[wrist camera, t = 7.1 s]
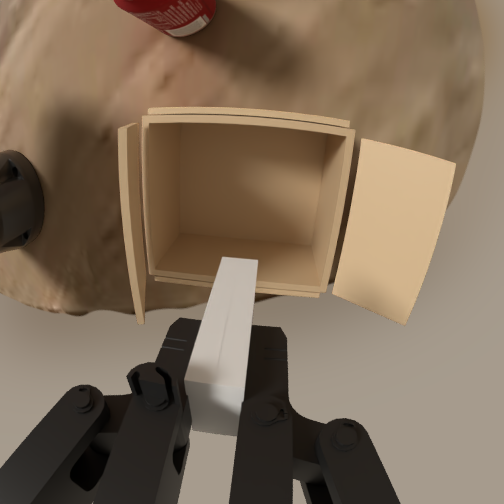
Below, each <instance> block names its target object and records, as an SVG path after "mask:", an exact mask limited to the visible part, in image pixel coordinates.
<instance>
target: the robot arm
mask: <svg viewBox="0 0 504 504" xmlns="http://www.w3.org/2000/svg"><path fill="white" fill-rule="evenodd" d="M43 218H44V201H43V194H42V190H41V186H40V183H39V180H38V177H37V175H36V173H35V171H34V169H33V167H32V165H31V164H30V163H29V161H28V160H27V159H26V158H25V157H24V156H23V155H22V154H20V153H19V152H16V151H13V150H6V151H3V152H0V253H2V252H6V251H11V250H15V249H19V248H22V247H24V246H26V245H27V244H29V243H30V242H31V241H33V240H34V239H35V238H36V237H37V236H38V234H39V232H40V230H41V227H42V224H43ZM257 267H258V260H252V259H241V258H230V257H222V260H221V263H220V266H219V269H218V272H217V275H216V278H215V281H214V285H213V288H212V291H211V294H210V297H209V300H208V303H207V306H206V310H205V313H204V316H203V319H202V320H195V319H187V318H179V319H178V320H176V321H175V322H174V323H173V324H172V325H171V326H170V328H169V330H168V332H167V335H166V338H165V339H164V342H163V344H162V348H161V349H160V351H159V354H158V357H157V359H156V361H155V363H151V362H148V363H144V364H140V365H138V366H136V367H135V368H133V369H131V371H130V372H129V373H128V375H127V376H126V377H127V379H128V382H129V385H130V388H131V391H132V393H131V394H126V395H108V396H107V395H106V396H103V394H102V392H101V391H100V390H98V389H97V388H96V387H93V386H91V385H79V386H75V387H73V388H71V389H70V390H69V391H68V392H66V394H65V395H64V396H63V397H62V398H61V399H60V400H59V401H58V402H57V403H56V405H55V406H54V407H53V408H52V409H51V410H50V412H48V414H47V415H46V416H45V417H44V418H43V419H42V420H41V422H40V423H39V424H38V425H37V426H36V427H35V428H34V429H33V430H32V432H31V433H30V434H29V435H28V437H26V439H25V440H24V441H23V442H22V443H21V444H20V446H19V447H18V448H17V449H16V450H15V452H14V453H13V454H12V455H11V456H10V457H9V459H8V460H7V461H6V462H5V464H4V465H3V466H2V467H1V468H0V504H92V503H93V504H177V503H178V498H179V493H180V489H181V484H182V479H183V475H184V470H185V465H186V460H187V456H188V451H189V447H190V442H189V433H190V429H191V424H192V430H194V431H200V432H207V433H214V434H222V435H230V436H237V442H236V451H235V459H234V467H233V475H232V483H231V492H230V499H229V504H292V503H293V502H292V501H293V500H292V499H293V479H296V480H299V481H300V483H301V486H302V489H303V492H304V496H305V499H306V502H307V504H400V502H399V499H398V497H397V495H396V493H395V491H394V488H393V486H392V484H391V482H390V479H389V477H388V475H387V473H386V471H385V469H384V466H383V464H382V462H381V460H380V458H379V456H378V454H377V452H376V449H375V447H374V445H373V443H372V441H371V439H370V437H369V435H368V433H367V431H366V430H365V429H364V427H363V426H362V425H361V424H359V423H358V422H356V421H355V420H351V419H347V418H342V419H335V420H332V421H330V422H328V423H327V424H324V423H320V422H317V421H313V420H310V419H307V418H305V417H303V416H301V415H299V414H298V413H297V412H296V411H295V410H294V409H293V408H292V406H291V404H290V402H289V397H288V362H287V338H286V336H285V334H284V332H283V331H282V329H281V328H280V327H270V326H257V325H252V320H253V311H254V300H255V289H256V278H257ZM93 501H94V502H93Z"/></svg>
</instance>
